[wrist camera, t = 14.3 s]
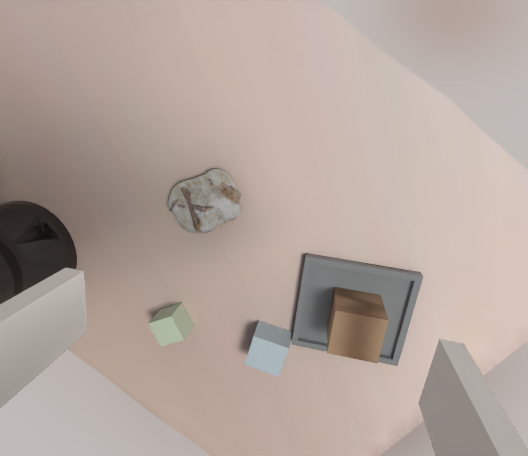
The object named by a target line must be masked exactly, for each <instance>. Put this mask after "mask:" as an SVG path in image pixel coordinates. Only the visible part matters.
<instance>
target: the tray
mask: <svg viewBox="0 0 528 456" xmlns="http://www.w3.org/2000/svg"><path fill="white" fill-rule="evenodd" d="M422 278H423V276H422V274H421V272H415V271H409V270H403V269H397V268H391V267H385V266H379V265H373V264H367V263H361V262H355V261H349V260H343V259H337V258H331V257H325V256H320V255H314V254H308V253H306V256H305V263H304V269H303V275H302V281H301V288H300V294H299V300H298V306H297V312H296V319H295V325H294V331H293V337H292V344H293V345H298V346H303V347H308V348H312V349H317V350H322V351H327V323H328V318H329V313H330V308H331V303H332V297H333V292H334V287H339V288H344V289H350V290H356V291H361V292H367V293H373V294H378V295H381V297H382V301H383V304H384V307H385V310H386V314H387V317H388V320H389V321H388V324H387V328H386V332H385V336H384V340H383V344H382V347H381V351H380V355H379V359H378V362H381V363H386V364H391V365H396V366H397V365H398V362H399V358H400V355H401V352H402V348H403V345H404V341H405V338H406V334H407V331H408V327H409V324H410V320H411V317H412V313H413V310H414V306H415V303H416V299H417V296H418V292H419V289H420V285H421V282H422Z"/></svg>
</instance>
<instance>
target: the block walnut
mask: <svg viewBox="0 0 528 456" xmlns="http://www.w3.org/2000/svg"><path fill="white" fill-rule="evenodd" d="M388 321H389V320H388V317H387V314H386V310H385V307H384V304H383V301H382V297H381V295H378V294H373V293H367V292H361V291H356V290H350V289H344V288H339V287H334V292H333V297H332V303H331V308H330V313H329V318H328V323H327V353H330V354H335V355H340V356H344V357H349V358H354V359H359V360H364V361H369V362H374V363H378V359H379V355H380V351H381V347H382V344H383V340H384V336H385V332H386V328H387V324H388Z"/></svg>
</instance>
